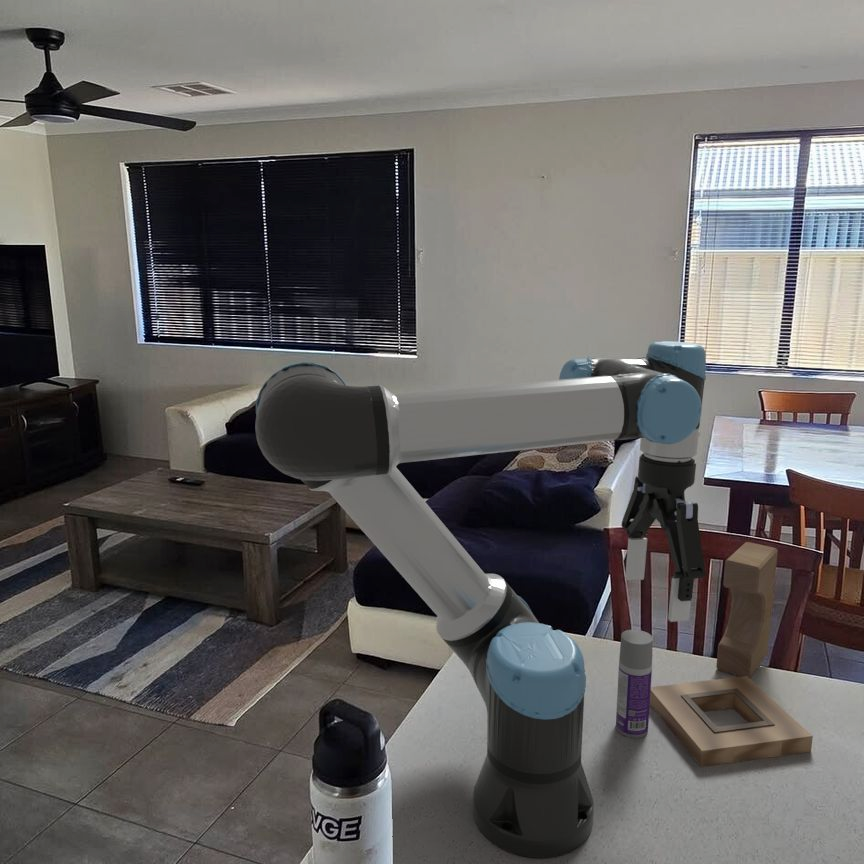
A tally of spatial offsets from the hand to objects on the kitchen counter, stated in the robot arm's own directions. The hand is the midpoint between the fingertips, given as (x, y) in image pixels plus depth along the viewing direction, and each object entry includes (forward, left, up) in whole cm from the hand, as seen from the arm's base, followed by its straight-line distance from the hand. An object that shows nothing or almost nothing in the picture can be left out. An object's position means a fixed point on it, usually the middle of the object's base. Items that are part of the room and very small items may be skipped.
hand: (655, 598), depth 108 cm
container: (-2, 0, -21) cm, 21 cm away
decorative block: (+25, +14, -21) cm, 35 cm away
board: (+12, -2, -21) cm, 24 cm away
